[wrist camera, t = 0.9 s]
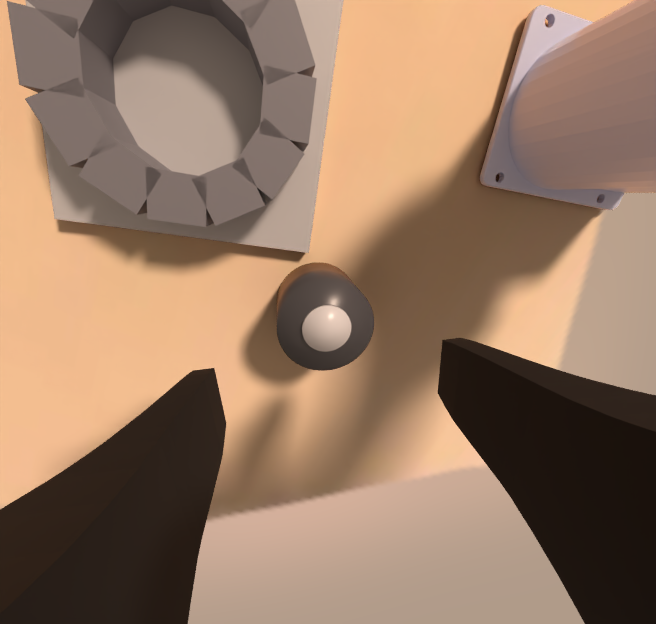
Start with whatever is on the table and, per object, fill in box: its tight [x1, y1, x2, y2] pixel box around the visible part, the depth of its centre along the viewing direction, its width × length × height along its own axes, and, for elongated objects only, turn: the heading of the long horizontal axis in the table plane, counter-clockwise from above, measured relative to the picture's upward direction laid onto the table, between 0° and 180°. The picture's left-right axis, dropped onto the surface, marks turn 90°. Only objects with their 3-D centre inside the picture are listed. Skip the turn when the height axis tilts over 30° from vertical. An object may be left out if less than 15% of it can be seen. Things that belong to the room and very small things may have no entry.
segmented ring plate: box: [7, 0, 343, 253], centre depth 13 cm, size 12×12×3 cm
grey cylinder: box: [277, 263, 374, 370], centre depth 17 cm, size 5×5×4 cm
